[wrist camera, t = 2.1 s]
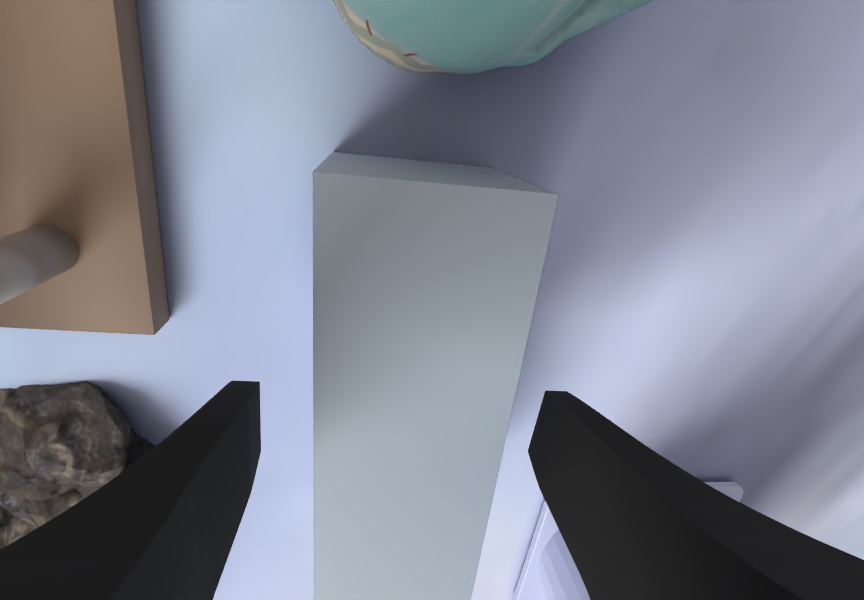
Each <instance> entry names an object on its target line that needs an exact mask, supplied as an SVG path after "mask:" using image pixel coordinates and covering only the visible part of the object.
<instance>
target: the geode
mask: <svg viewBox="0 0 864 600" xmlns="http://www.w3.org/2000/svg"><path fill="white" fill-rule="evenodd" d="M154 447H155V445H152V444H151V443H150V442H148V441H147V440H145V439H144V438H143V437H141V436H139V435H138V434H136V433H135V432H134V430H133V429H132V428H130V426H129V424H128V422H127V421H126V419H125V417H124V412H123V411H122V410H120V409H119V408H118V407H117V406H116V404H115V403H113V402H112V401H111V400H110V399H109V398H108V397H107V396H106V394H105V393H104V392H103V391H102V390H101V389H100V388H99V387H98V386H97V385H94V384H92V383H89V382H87V381H85V382H78V383H69V384H59V385H46V384H45V385H26V386H20V387H19V388H17V389H11V388H9V389H0V550H1V549H3V548H4V547H6V546H8V545H9V544H11V543H13V542H14V541H16V540H18V539H20V538H21V537H23V536H25V535H26V534H28V533H30V532H31V531H33V530H35V529H36V528H38V527H40V526H41V525H43V524H45V523H47V522H48V521H50V520H52V519H53V518H55V517H57V516H58V515H60V514H61V513H63V512H64V511H66V510H68V509H69V508H71V507H72V506H74V505H75V504H77V503H78V502H80V501H81V500H83V499H84V498H86V497H87V496H89V495H90V494H92V493H93V492H95V491H96V490H98V489H99V488H101V487H102V486H104V485H105V484H106V483H108V482H109V481H111V480H112V479H113V478H115V477H116V476H118V475H119V474H120V473H122V472H123V471H124V470H126V469H127V468H128V467H130V466H131V465H132V464H133V463H135V462H136V461H137V460H139V459H140V458H141V457H142V456H144V455H145V454H146V453H148V452H149V451H150V450H152V449H153V448H154Z"/></svg>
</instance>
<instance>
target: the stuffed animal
mask: <svg viewBox="0 0 864 600" xmlns="http://www.w3.org/2000/svg"><path fill="white" fill-rule="evenodd" d="M650 1H652V0H334V2H335V4H336V6H337V8H338V10H339V12H340V14H341V16H342V18H343V20H344V21H345V23H346V24H347V25H348V26H349V28H350V29H351V30H352V32H353V33H354V34H355V36H356V37H357V38H358V40H359V41H360V42H361V43H363V44H364V45H365V46H366V47H367V48H368V49H369V50H371V51H372V52H373V53H374V54H375V55H376V56H378V57H379V58H381V59H383V60H385V61H386V62H388V63H390V64H392V65H394V66H395V67H398V68H402V69H405V70H409V71H412V72H416V73H453V74H473V73H480V72H484V71H488V70H491V69H495V68H498V67H517V66H523V65H529V64H533V63H535V62H537V61H538V60H540V59H542V58H544V57H546V56H547V55H548V54H549V53H551V52H552V51H553V50H554V49H556V48H557V47H558V46H559V45H561V44H562V43H563V42H564V41H565V40H568V39H570V38H572V37H574V36H576V35H579V34H581V33H583V32H585V31H587V30H590V29H592V28H594V27H596V26H598V25H601V24H603V23H605V22H607V21H609V20H611V19H613V18H616V17H618V16H620V15H622V14H624V13H626V12H628V11H631V10H633V9H635V8H637V7H639V6H641V5H643V4H645V3H647V2H650Z"/></svg>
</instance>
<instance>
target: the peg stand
mask: <svg viewBox="0 0 864 600" xmlns="http://www.w3.org/2000/svg"><path fill="white" fill-rule="evenodd" d="M168 320H169V310H168V301H167V291H166V282H165V273H164V263H163V254H162V244H161V235H160V225H159V216H158V207H157V197H156V188H155V178H154V169H153V159H152V150H151V141H150V131H149V122H148V112H147V103H146V93H145V84H144V75H143V65H142V56H141V46H140V37H139V28H138V18H137V9H136V0H0V327H11V328H30V329H49V330H69V331H88V332H107V333H127V334H146V335H155V334H156V333H157V332H158V331H159V330H160V329H161V328H162V327H163V325H164V324H165V323H166V322H167V321H168Z"/></svg>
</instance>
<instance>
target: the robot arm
mask: <svg viewBox="0 0 864 600" xmlns="http://www.w3.org/2000/svg"><path fill="white" fill-rule="evenodd" d="M260 452H261V434H260V382H252V381H231V382H230V383H228V384H227V385H226V386H225V387H224V388H223V389H221V390H220V391H219V392H218V393H217V394H216V395H215V396H214V397H213V398H211V399H210V400H209V401H208V402H207V403H206V404H205V405H204V406H203V407H201V408H200V409H199V410H198V411H197V412H196V413H195V414H193V415H192V416H191V417H190V418H189V419H188V420H187V421H185V422H184V423H183V424H182V425H181V426H179V427H178V428H177V429H176V430H175V431H174V432H172V433H171V434H170V435H169V436H168V437H166V438H165V439H164V440H163V441H162V442H160V443H159V444H158V445H157V446H155V447H154V448H153V449H152V450H150V451H149V452H148V453H146V454H145V455H144V456H142V457H141V458H140V459H139V460H137V461H136V462H135V463H133V464H132V465H131V466H130V467H128V468H127V469H126V470H124V471H123V472H122V473H120V474H119V475H118V476H116V477H115V478H113V479H112V480H111V481H109V482H108V483H106V484H105V485H104V486H102V487H101V488H99V489H98V490H96V491H95V492H93V493H92V494H90V495H89V496H87V497H86V498H84V499H83V500H81V501H80V502H78V503H77V504H75V505H74V506H72V507H71V508H69V509H68V510H66V511H64V512H63V513H61V514H60V515H58V516H57V517H55V518H53V519H52V520H50V521H48V522H47V523H45V524H43V525H41V526H40V527H38V528H36V529H35V530H33V531H31V532H30V533H28V534H26V535H25V536H23V537H21V538H20V539H18V540H16V541H14V542H13V543H11V544H9V545H8V546H6V547H4V548H3V549H1V550H0V600H213V597H214V594H215V591H216V588H217V585H218V583H219V580H220V577H221V574H222V572H223V569H224V566H225V563H226V561H227V558H228V555H229V552H230V550H231V547H232V544H233V541H234V539H235V536H236V533H237V530H238V527H239V525H240V522H241V519H242V516H243V513H244V511H245V508H246V505H247V502H248V499H249V497H250V494H251V490H252V486H253V482H254V478H255V474H256V469H257V465H258V461H259V456H260ZM528 453H529V456H530V460H531V463H532V466H533V470H534V473H535V476H536V479H537V482H538V485H539V488H540V490H541V492H542V494H543V497H544V499H545V501H544V504H543V507H542V510H541V513H540V517H539V520H538V523H537V526H536V529H535V532H534V535H533V538H532V541H531V544H530V547H529V550H528V553H527V556H526V559H525V562H524V566H523V569H522V572H521V575H520V578H519V581H518V584H517V587H516V590H515V593H514V596H513V599H512V600H864V560H862V559H860V558H858V557H855V556H853V555H851V554H848V553H846V552H844V551H841V550H839V549H837V548H834V547H832V546H830V545H827V544H825V543H823V542H820V541H818V540H816V539H814V538H811V537H809V536H807V535H805V534H803V533H800V532H798V531H796V530H794V529H792V528H790V527H788V526H786V525H784V524H782V523H780V522H778V521H775V520H773V519H771V518H769V517H767V516H765V515H763V514H761V513H759V512H757V511H755V510H753V509H751V508H749V507H747V506H746V505H744V504H742V503H740V500H741V498H742V496H743V494H744V491H743V489H742V488H741V487H740V486H739V485H738V484H737V483H736V482H702V481H700V480H699V479H697V478H695V477H694V476H692V475H690V474H689V473H687V472H686V471H684V470H682V469H681V468H679V467H678V466H676V465H675V464H673V463H671V462H670V461H668V460H667V459H665V458H664V457H662V456H661V455H659V454H657V453H656V452H654V451H653V450H651V449H650V448H648V447H647V446H646V445H644V444H643V443H641V442H640V441H638V440H637V439H635V438H634V437H632V436H631V435H630V434H628V433H627V432H625V431H624V430H622V429H621V428H620V427H618V426H617V425H615V424H614V423H613V422H611V421H610V420H608V419H607V418H606V417H604V416H603V415H601V414H600V413H599V412H597V411H596V410H594V409H593V408H591V407H590V406H589V405H587V404H586V403H584V402H583V401H581V400H580V399H578V398H577V397H575V396H573V395H572V394H570V393H568V392H567V391H545V394H544V398H543V401H542V404H541V408H540V411H539V415H538V418H537V422H536V425H535V428H534V432H533V435H532V439H531V442H530V446H529V449H528Z"/></svg>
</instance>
